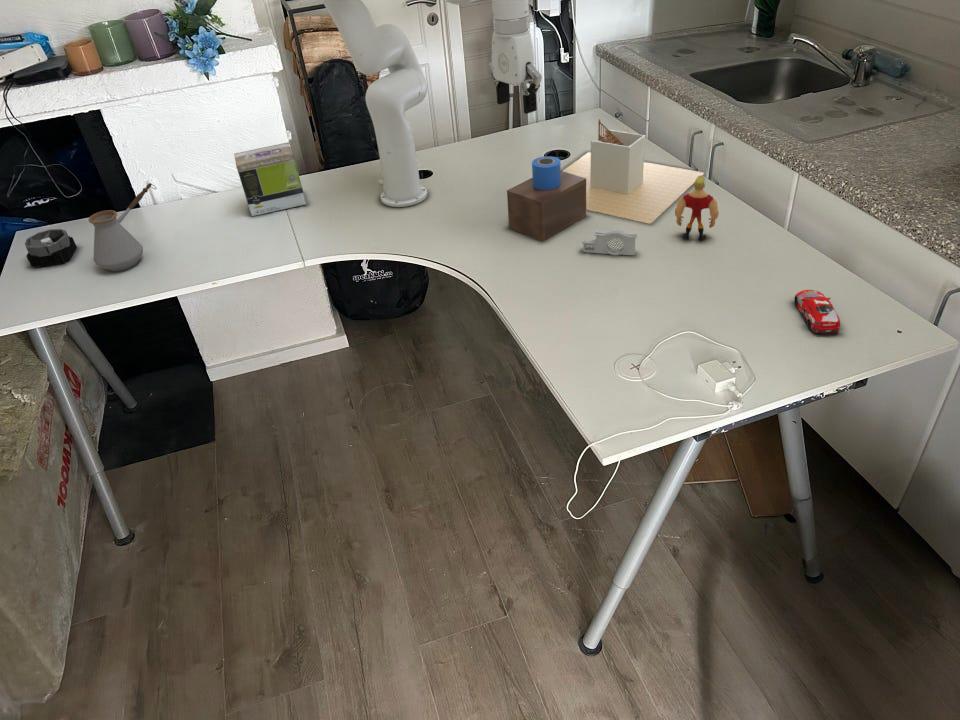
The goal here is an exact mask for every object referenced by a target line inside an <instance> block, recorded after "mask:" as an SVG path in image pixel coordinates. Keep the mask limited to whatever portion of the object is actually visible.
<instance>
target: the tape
mask: <svg viewBox="0 0 960 720" xmlns="http://www.w3.org/2000/svg"><path fill="white" fill-rule="evenodd" d="M561 165H562V164H561V159H560V158H559V157H556V156H549V155H548V156H547V155H546V156H540V157H537V158H534V159H533V160H532V161H531V171H532V172H531V173H532V174H531V175H532V178H533V186H534V187H535V188H536V189H539V190H552V189H555V188H557V187H559V186H560V185H561V171H562V170H561Z"/></svg>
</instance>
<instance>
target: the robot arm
mask: <svg viewBox="0 0 960 720" xmlns="http://www.w3.org/2000/svg"><path fill="white" fill-rule="evenodd" d="M442 1H444V2H446V3H449V4H452V5H457V6H465V5H468V4H471V3H473V2H475V1H477V0H442ZM321 2H322V3H323V5H324V7H325V9H326V10H327V12H328V14H329V15H330V16H331V18H332V19H333V22H334V23H335V25H336V28H337V29H338V32H339V34H340V37H341V39H342V41H343V43H344V45H345V47H346V49H347V52H348V54H349V56H350V58H351V60H352V62H353V64H354V66H355V68H356V69H357V70H358V72H360V73H361V74H362V75H365V76H371V75H374V74H377V73H380V72H382V71H384V70H386V69H388V72H389V73H388V74H386V75H383V76H382V77H379V78H377V79H376V80H374V81H373V82H371V84H370V85H369V86H368V87H367V89H366V91H365V104H366V105H365V106H366V108H367V110H368V113H369V116H370V119H371V122H372V125H373V129H374V134H375V140H376V145H377V150H378V157H379V162H380V167H381V173H382V178H381V179H379V180H378V184H379V185H381V186H382V187H383V191H382V192H381V194H380V201H381V203H382V204H383V205H385V206H388V207H392V208H393V207H394V208H407V207H411V206H415V205H418V204H420V203H422V202H423V201H424V200H425V199H426V198H428V190H427V188H426V187H425V186H423V185H421V179H420V173H419V165H418V160H417V158H418V157H417V151H416V145H415V144H416V143H415V137H414V132H413V128H412V125H411V123H410V122H409V121H408V119H407V117H406V115H405V113H406V112H407V111H408V110H410V109H412V108H415V106H418V105H419V104H420V103H422V102H423V101H424V100H425V99H426V97H427V93H428V84H427V81H426V76H425V75H424V72H423V70H422V67H421V64H420V63H419V60H418V58H417V56H416V53H415V51H414V48H413V46H412V44H411V43H410V40H409V38H408V37H407V35H406V33H405V32H404V31H403V30H402V29H401V28H399V26H397V25H396V24H392V23H385V24H381V25H378V26H377V25H376V23H375V22H374V19H373V18H372V15H371V13H370V11H369V9H368V7H367V6H366V4H365V3H364V2H363V1H362V0H321ZM529 5H530V4H529V0H491V7H492V8H491V9H492V21H493V32H492V36H491V60H490V61H489V63H488V66H489V69H490V72H491V76H492V78H493V80H494V81H493V84H494V86H495V92H496V103H497V105H504V104H506V103H509V102H510V101H511V94H510V85H511V86H514V87H519V86H520V87H521V89H522V91H523V95H522V104H523V105H522V106H523V114H525V115H527V114H531V113H534V112H536V111H537V110H538V105H537V94H538V92H539V89H540V87H541V82H542V78H543V76H542V74H541V73H540V72H539V70H537V68H536V64H535V63H536V62H535V61H536V60H535V53H534V46H533V40H532V34H531V26H530V25H531V23H530V6H529ZM528 85H529V86H528Z"/></svg>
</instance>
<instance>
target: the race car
mask: <svg viewBox="0 0 960 720" xmlns="http://www.w3.org/2000/svg"><path fill="white" fill-rule="evenodd" d="M830 300H831V297H826V296H825V295H824V293H822V292H821V291H818V290H815V289H803V290H801V291H798V292H797V293H796V294H795V295H794V305H795V307H797V309H798V311H799V313H800V314H801V316H802V317H803V320H804V321H805V323H806V324H807V327H808V329H809V330H811V331H812V332H814V333H817V334H836V333H838V332H840V328H841V319H840V316H839V315H838V313H837V311H836V310H835V308H834V305H833V304H832V302H831V301H830Z"/></svg>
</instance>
